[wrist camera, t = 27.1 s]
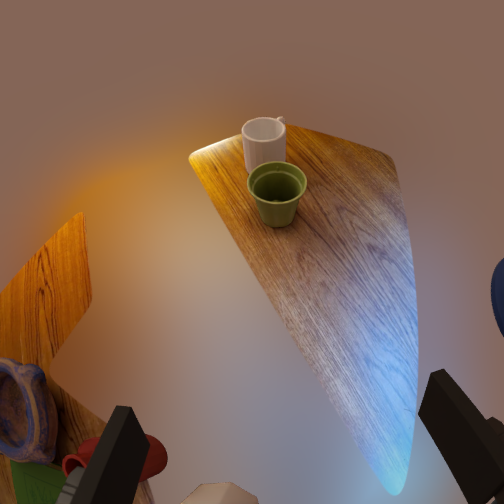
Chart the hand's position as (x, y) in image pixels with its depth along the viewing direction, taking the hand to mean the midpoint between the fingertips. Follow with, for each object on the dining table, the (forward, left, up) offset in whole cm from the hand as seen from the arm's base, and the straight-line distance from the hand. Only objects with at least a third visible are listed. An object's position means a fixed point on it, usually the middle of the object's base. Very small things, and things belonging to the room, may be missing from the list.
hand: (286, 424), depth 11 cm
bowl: (+29, +29, -30) cm, 51 cm away
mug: (+27, -39, -30) cm, 56 cm away
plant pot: (+18, -28, -30) cm, 44 cm away
